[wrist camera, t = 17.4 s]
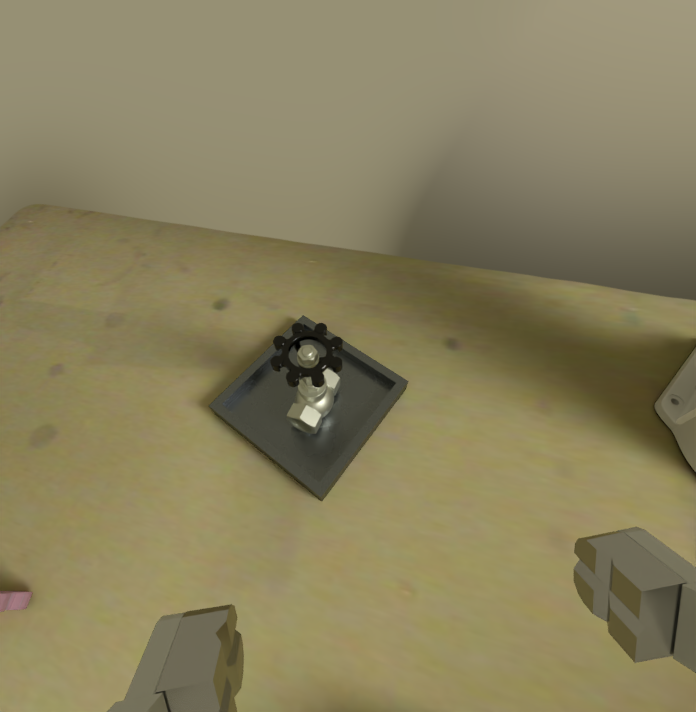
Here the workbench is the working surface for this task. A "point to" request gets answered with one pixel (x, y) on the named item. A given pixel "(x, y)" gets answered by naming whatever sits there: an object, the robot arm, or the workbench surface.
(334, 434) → the dark gray tray
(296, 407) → the valve
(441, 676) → the workbench surface
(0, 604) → the decorative key
